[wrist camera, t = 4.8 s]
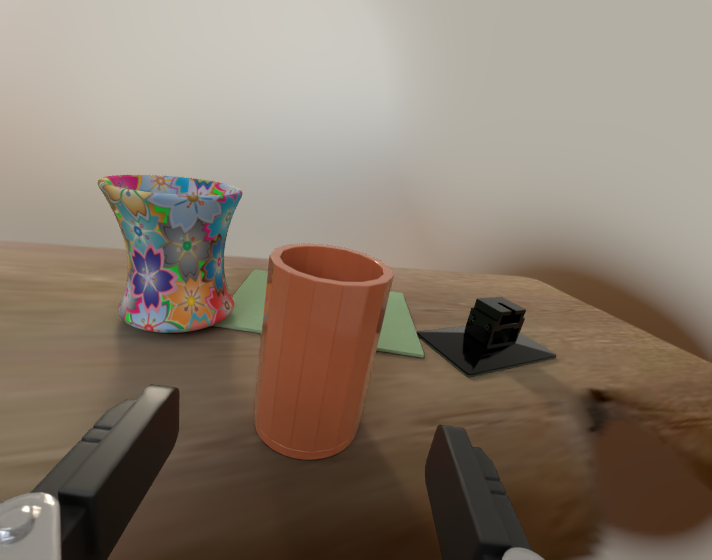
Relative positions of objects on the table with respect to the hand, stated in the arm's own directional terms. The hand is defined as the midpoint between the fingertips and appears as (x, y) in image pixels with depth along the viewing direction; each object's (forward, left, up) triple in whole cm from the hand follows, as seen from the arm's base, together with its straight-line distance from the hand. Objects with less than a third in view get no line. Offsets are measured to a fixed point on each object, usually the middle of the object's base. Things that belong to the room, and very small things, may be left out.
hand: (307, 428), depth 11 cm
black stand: (+16, +22, -7) cm, 28 cm away
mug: (-12, +20, -7) cm, 24 cm away
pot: (0, +9, -7) cm, 11 cm away
